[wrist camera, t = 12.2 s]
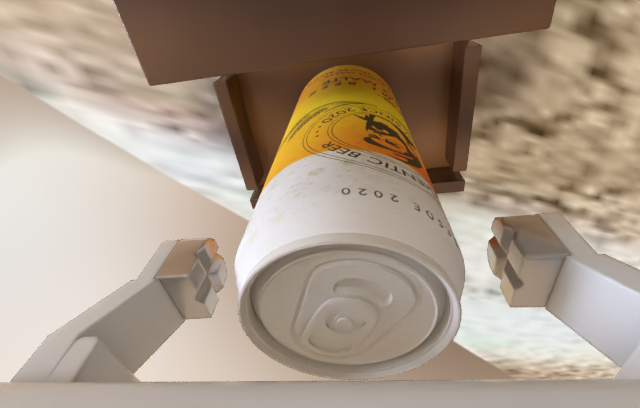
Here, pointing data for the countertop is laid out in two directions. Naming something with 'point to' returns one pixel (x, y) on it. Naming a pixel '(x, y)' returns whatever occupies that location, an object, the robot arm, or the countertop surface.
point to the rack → (329, 63)
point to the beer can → (349, 241)
